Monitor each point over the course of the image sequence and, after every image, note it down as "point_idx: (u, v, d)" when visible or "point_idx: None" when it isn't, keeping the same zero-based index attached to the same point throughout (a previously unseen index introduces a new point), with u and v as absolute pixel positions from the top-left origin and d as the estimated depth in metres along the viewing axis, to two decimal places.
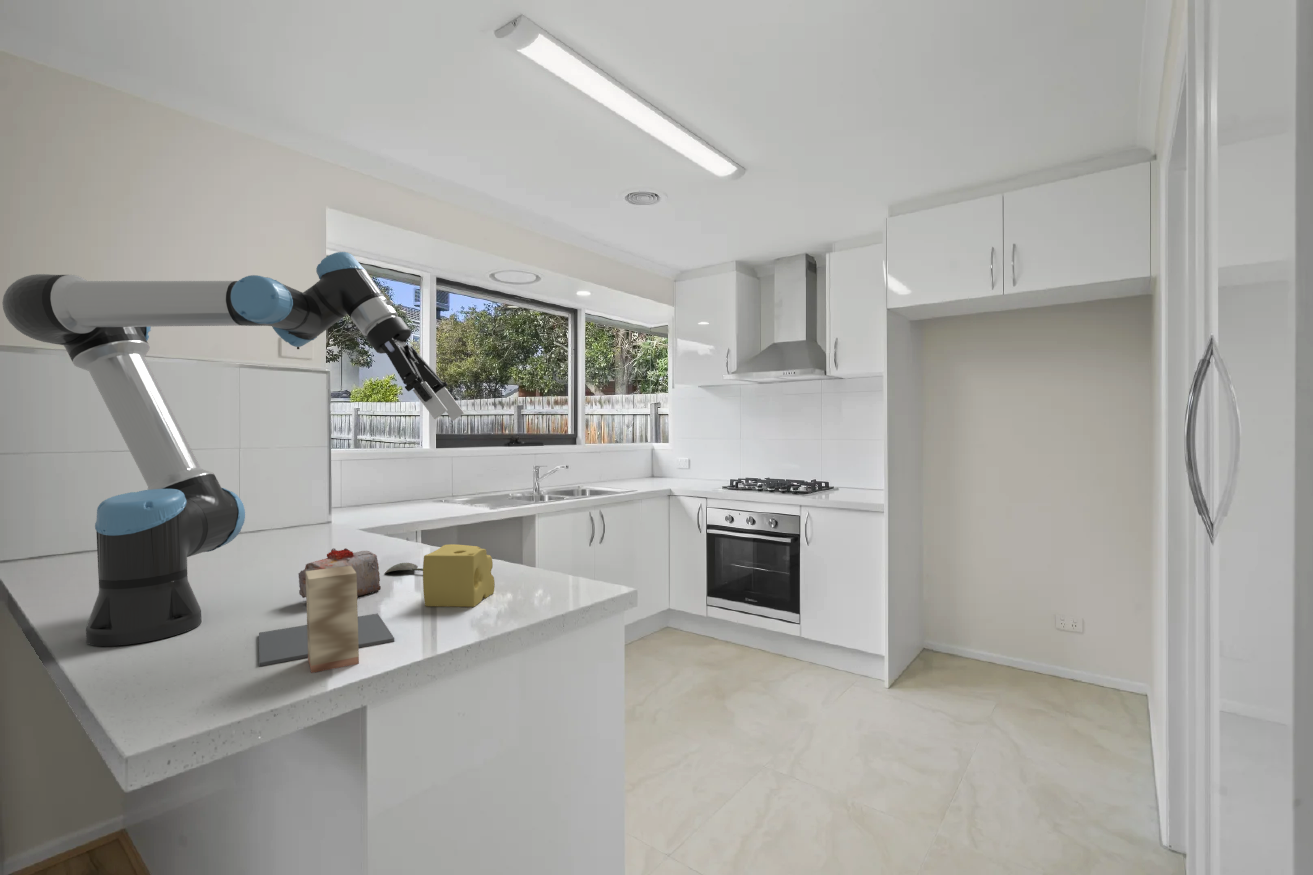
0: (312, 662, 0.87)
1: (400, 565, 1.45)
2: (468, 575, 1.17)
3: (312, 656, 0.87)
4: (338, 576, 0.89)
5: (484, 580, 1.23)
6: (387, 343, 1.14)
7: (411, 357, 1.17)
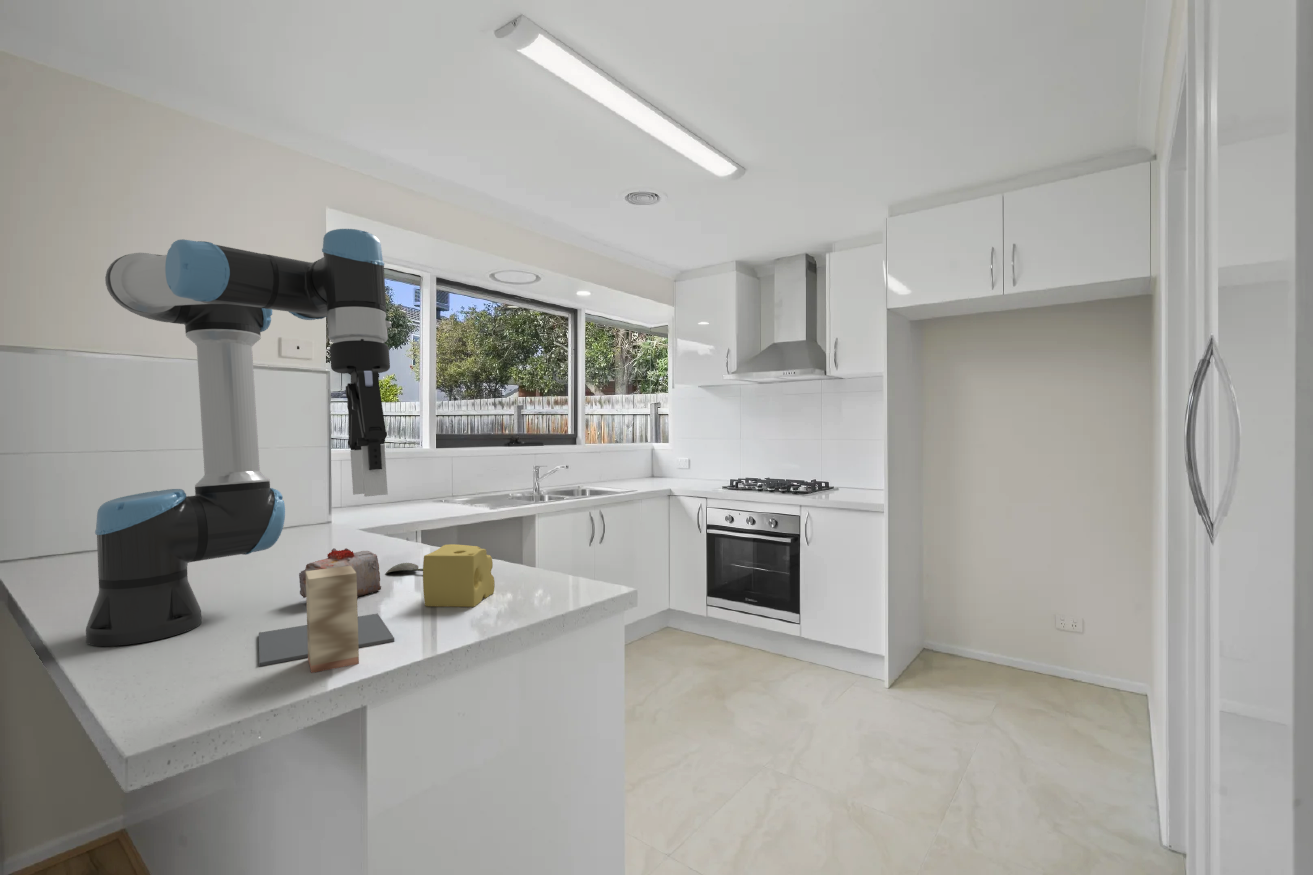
0: (312, 662, 0.87)
1: (401, 565, 1.45)
2: (468, 575, 1.17)
3: (312, 656, 0.87)
4: (338, 576, 0.89)
5: (484, 580, 1.23)
6: (368, 373, 0.83)
7: None
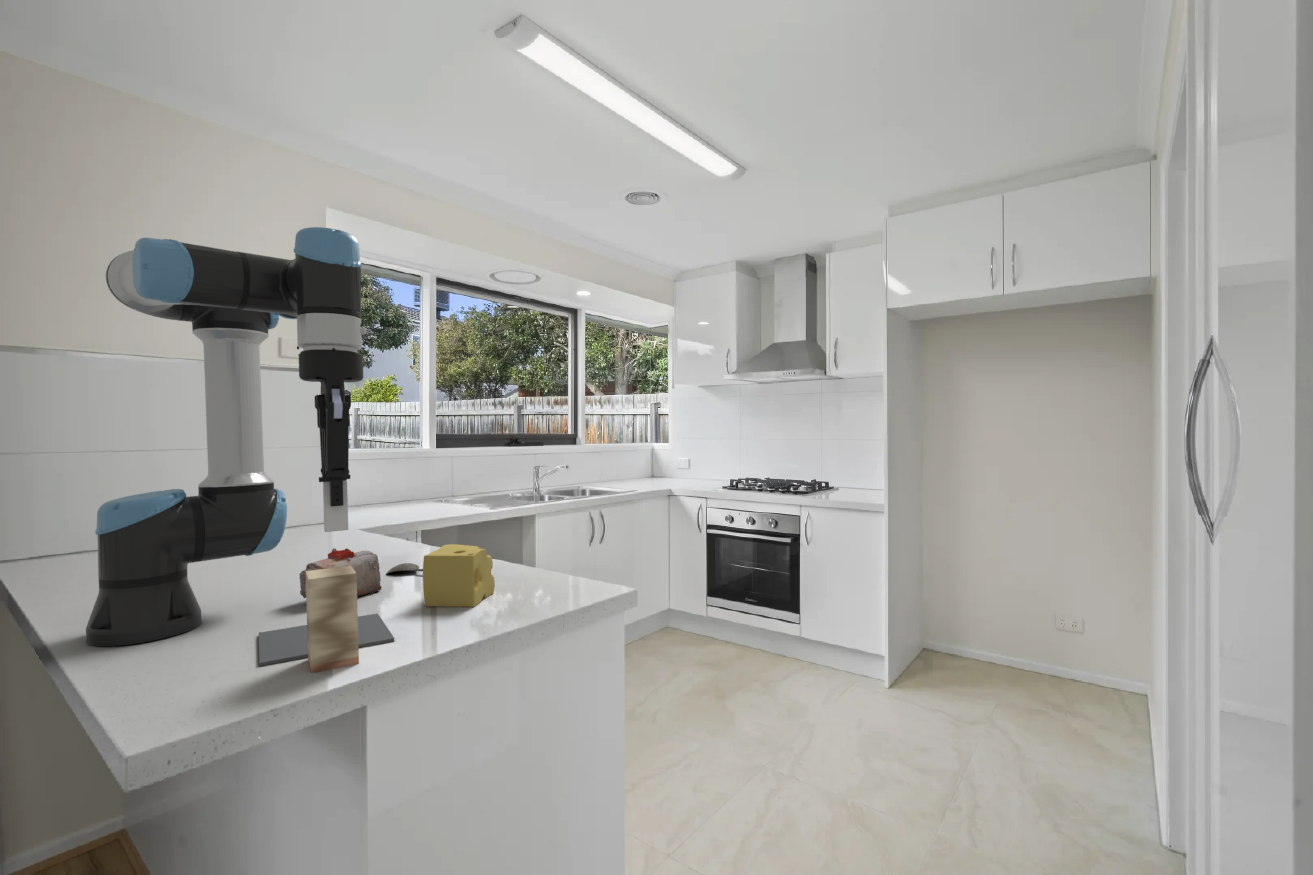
0: (312, 662, 0.87)
1: (401, 565, 1.45)
2: (468, 575, 1.17)
3: (312, 656, 0.87)
4: (338, 576, 0.89)
5: (484, 580, 1.23)
6: (338, 408, 0.78)
7: None
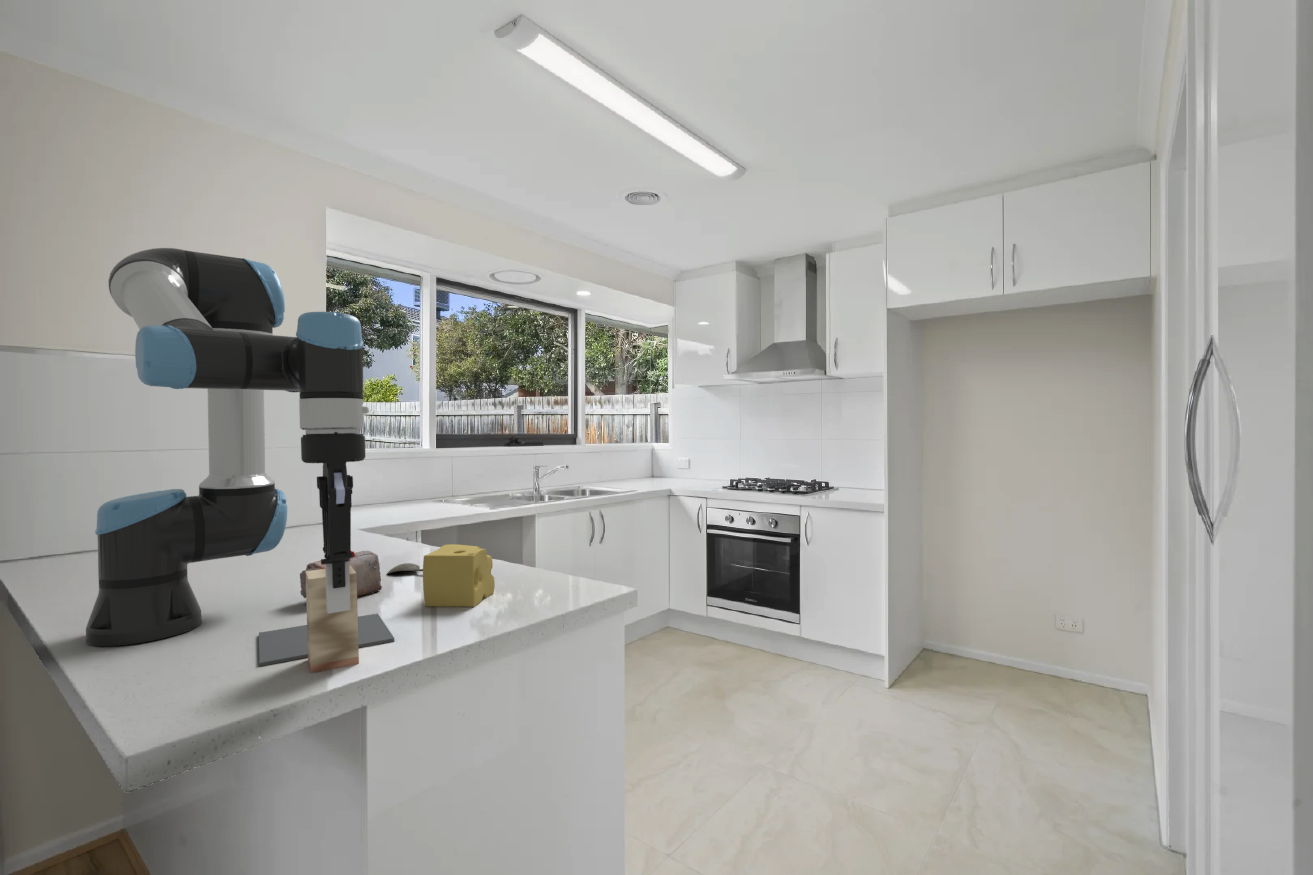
0: (312, 662, 0.87)
1: (402, 566, 1.45)
2: (468, 575, 1.17)
3: (312, 656, 0.87)
4: None
5: (484, 580, 1.23)
6: (341, 494, 0.78)
7: None
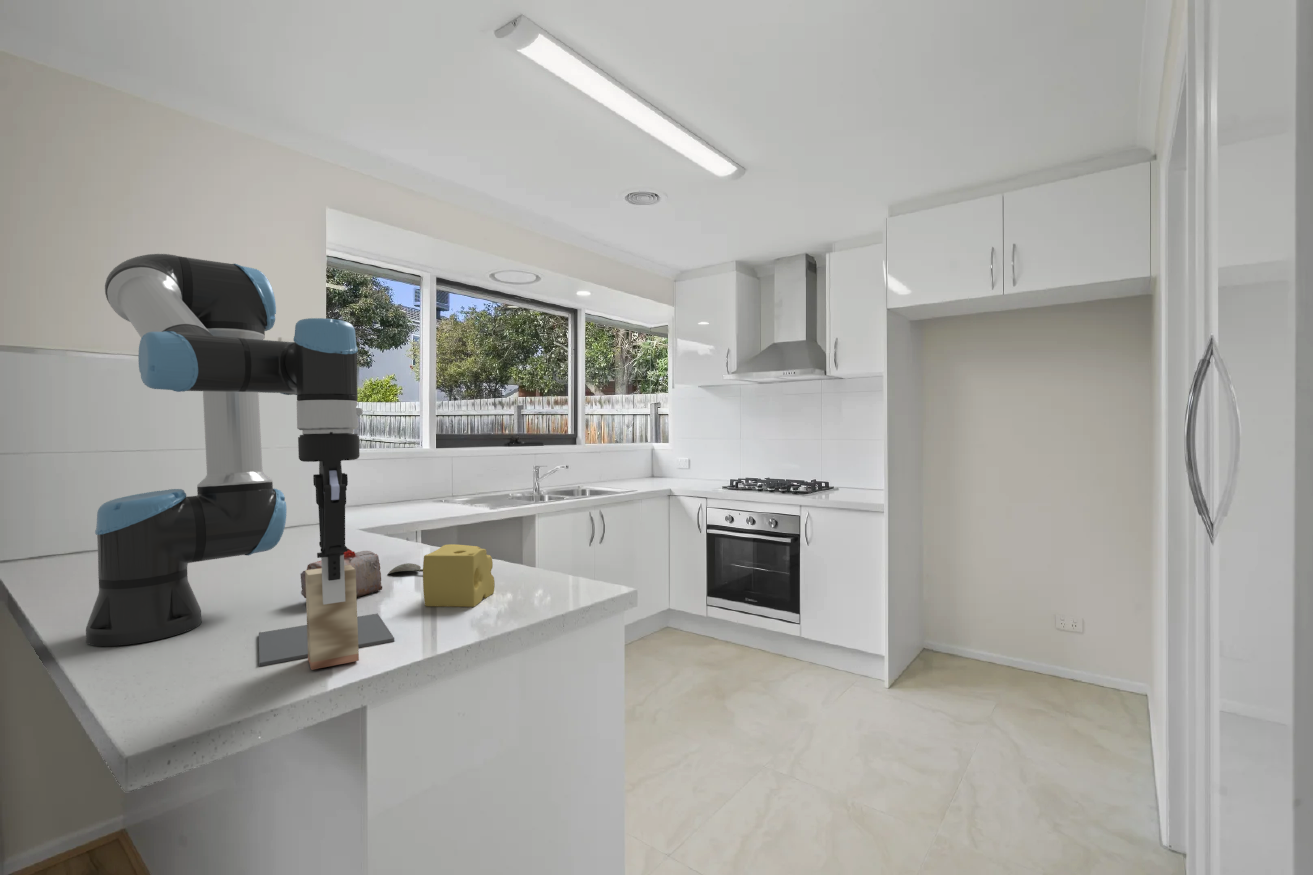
0: (312, 659, 0.87)
1: (403, 566, 1.45)
2: (468, 575, 1.17)
3: (312, 653, 0.87)
4: None
5: (484, 580, 1.23)
6: (335, 491, 0.82)
7: None
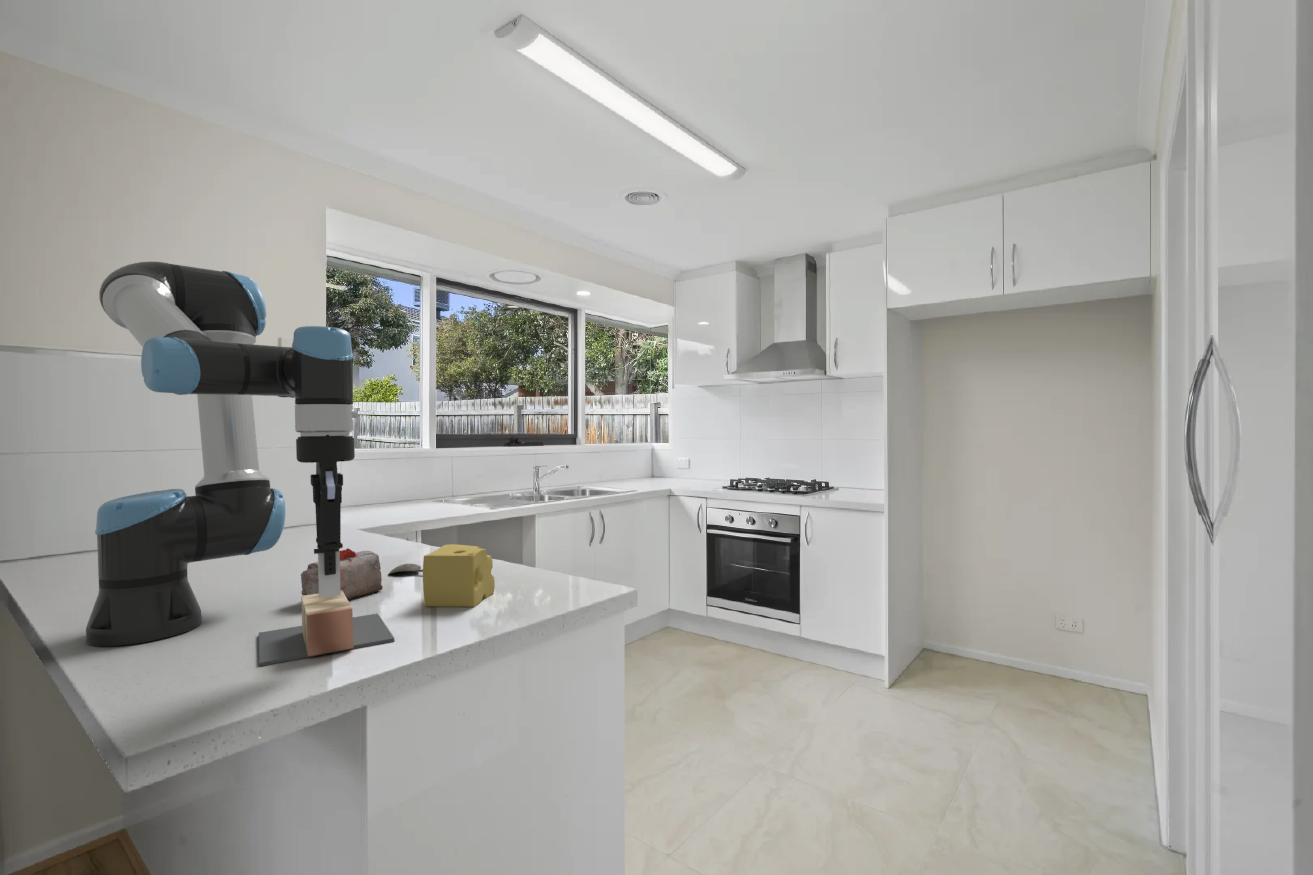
0: (307, 612, 0.93)
1: (403, 566, 1.44)
2: (468, 575, 1.17)
3: (307, 611, 0.94)
4: None
5: (484, 580, 1.23)
6: (331, 490, 0.87)
7: None
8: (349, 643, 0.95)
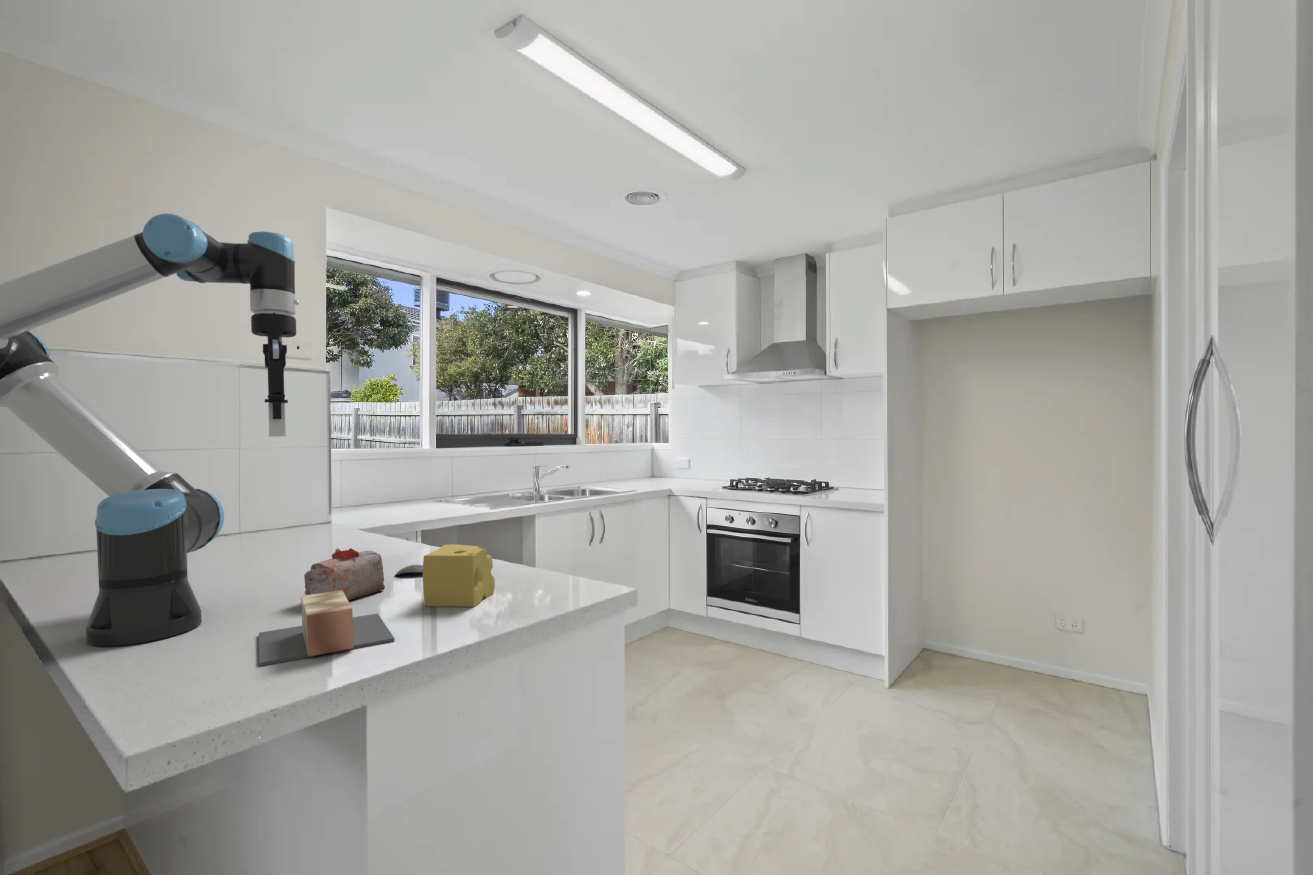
0: (307, 612, 0.93)
1: (410, 567, 1.43)
2: (468, 575, 1.17)
3: (307, 611, 0.94)
4: (326, 592, 1.05)
5: (484, 580, 1.23)
6: (276, 351, 1.18)
7: (284, 366, 1.22)
8: (349, 643, 0.95)
